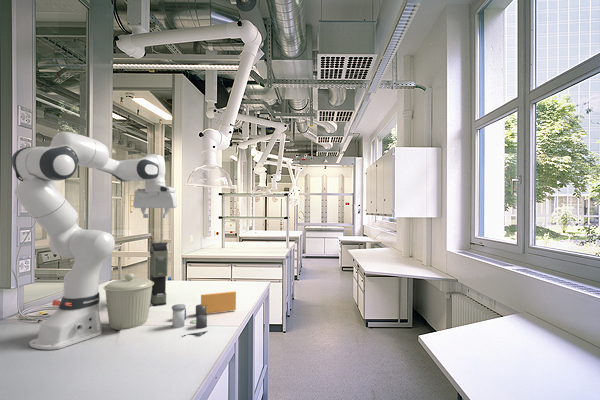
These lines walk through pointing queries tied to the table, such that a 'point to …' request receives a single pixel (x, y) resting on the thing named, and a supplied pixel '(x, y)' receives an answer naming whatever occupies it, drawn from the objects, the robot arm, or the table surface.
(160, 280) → the device
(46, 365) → the table surface
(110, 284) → the canister
